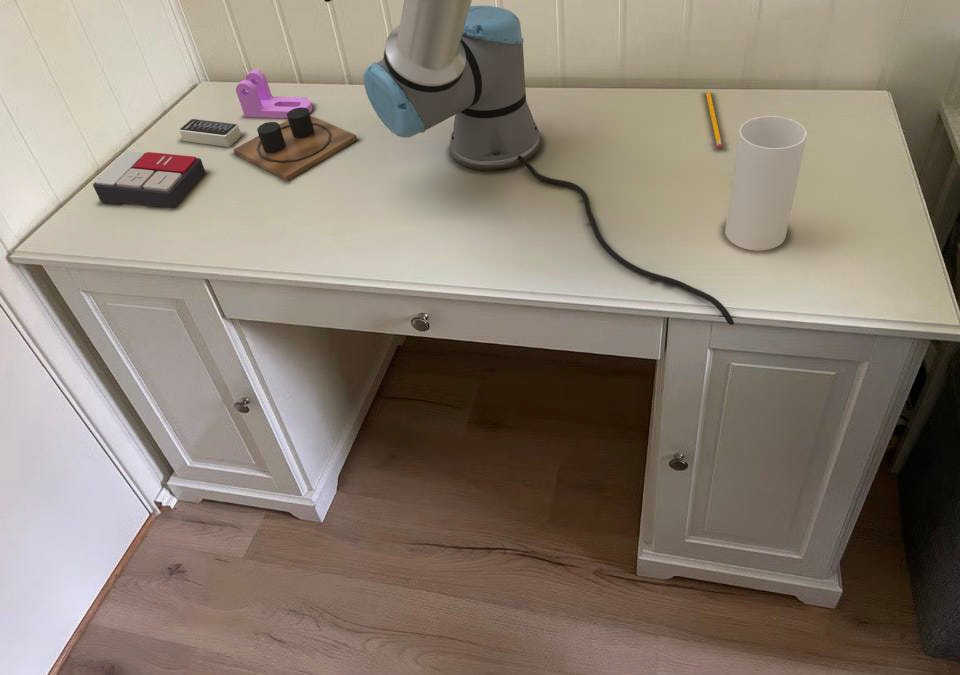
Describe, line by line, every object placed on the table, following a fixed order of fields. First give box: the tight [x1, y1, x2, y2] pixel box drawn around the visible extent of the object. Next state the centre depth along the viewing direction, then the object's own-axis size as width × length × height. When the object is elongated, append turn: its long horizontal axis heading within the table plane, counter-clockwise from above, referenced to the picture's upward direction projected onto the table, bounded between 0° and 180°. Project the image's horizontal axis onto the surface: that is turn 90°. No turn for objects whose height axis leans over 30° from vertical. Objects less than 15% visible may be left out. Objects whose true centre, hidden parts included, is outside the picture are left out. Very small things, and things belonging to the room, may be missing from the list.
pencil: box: [705, 91, 724, 150], centre depth 134 cm, size 1×18×1 cm, turn 174°
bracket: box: [235, 69, 313, 119], centre depth 151 cm, size 13×6×7 cm, turn 76°
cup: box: [724, 115, 808, 252], centre depth 106 cm, size 8×8×16 cm
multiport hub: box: [178, 118, 243, 148], centre depth 147 cm, size 4×11×2 cm, turn 68°
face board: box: [233, 115, 358, 182], centre depth 142 cm, size 16×16×1 cm
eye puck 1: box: [256, 121, 286, 153], centre depth 140 cm, size 4×4×4 cm
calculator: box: [92, 150, 206, 209], centre depth 136 cm, size 11×4×15 cm
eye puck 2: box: [286, 107, 314, 138], centre depth 143 cm, size 4×4×4 cm
